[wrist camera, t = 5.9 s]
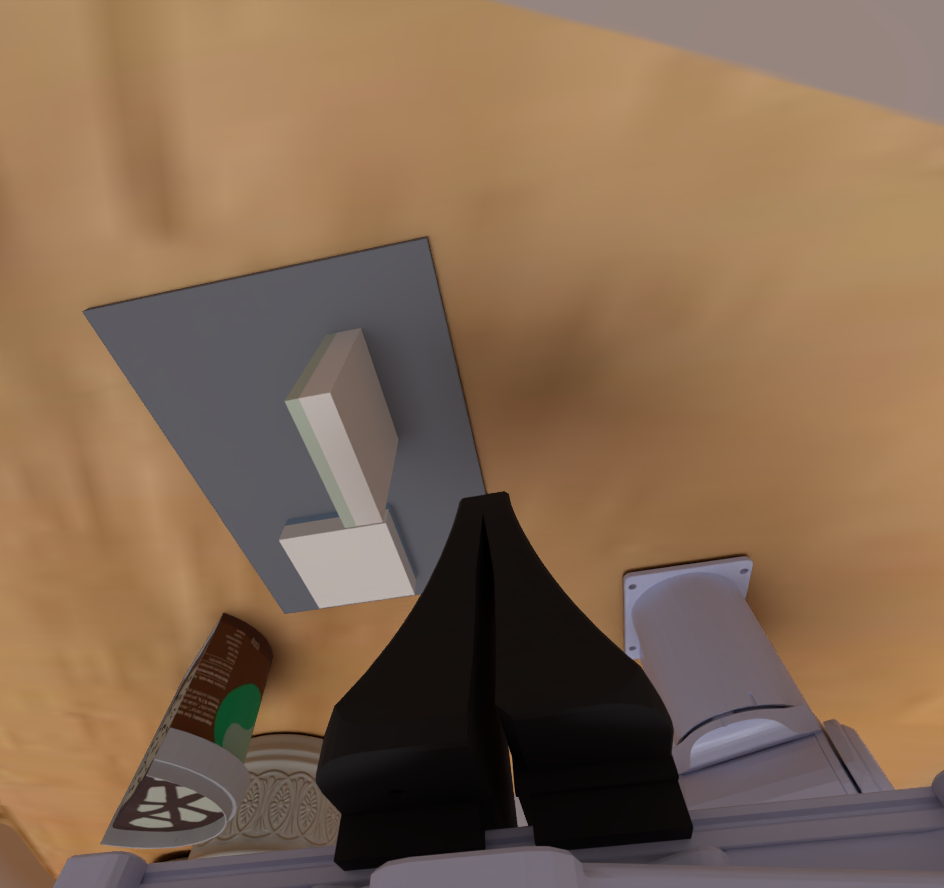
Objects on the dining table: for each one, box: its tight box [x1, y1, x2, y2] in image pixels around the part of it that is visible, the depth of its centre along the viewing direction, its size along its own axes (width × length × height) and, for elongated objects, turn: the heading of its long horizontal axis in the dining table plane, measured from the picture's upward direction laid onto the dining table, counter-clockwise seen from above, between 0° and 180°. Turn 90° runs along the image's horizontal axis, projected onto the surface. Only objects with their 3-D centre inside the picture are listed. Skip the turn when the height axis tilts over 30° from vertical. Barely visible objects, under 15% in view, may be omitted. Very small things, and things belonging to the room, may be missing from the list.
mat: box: [82, 237, 486, 614], centre depth 25 cm, size 21×15×1 cm
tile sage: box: [285, 328, 399, 528], centre depth 20 cm, size 6×2×6 cm, turn 11°
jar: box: [188, 734, 341, 860], centre depth 38 cm, size 13×13×18 cm
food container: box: [100, 613, 273, 849], centre depth 31 cm, size 12×6×10 cm, turn 146°
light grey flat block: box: [279, 503, 417, 608], centre depth 28 cm, size 6×2×6 cm
